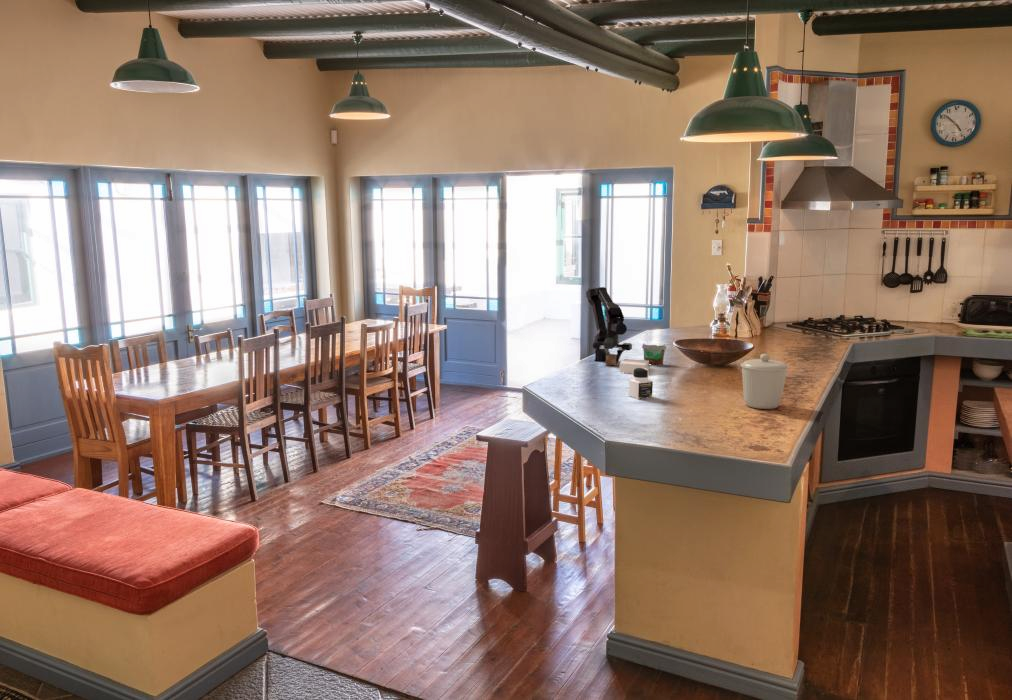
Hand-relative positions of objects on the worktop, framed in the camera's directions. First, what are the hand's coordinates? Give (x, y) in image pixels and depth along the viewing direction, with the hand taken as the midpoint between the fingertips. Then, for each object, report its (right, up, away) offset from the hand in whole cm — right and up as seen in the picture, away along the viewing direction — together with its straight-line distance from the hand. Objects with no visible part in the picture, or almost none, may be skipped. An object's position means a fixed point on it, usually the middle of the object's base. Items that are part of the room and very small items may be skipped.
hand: (611, 362), depth 397 cm
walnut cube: (0, -1, 0) cm, 1 cm away
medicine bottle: (+3, -13, -68) cm, 69 cm away
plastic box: (+9, -4, -15) cm, 18 cm away
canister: (+48, -16, -83) cm, 98 cm away
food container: (+20, -1, +3) cm, 21 cm away
